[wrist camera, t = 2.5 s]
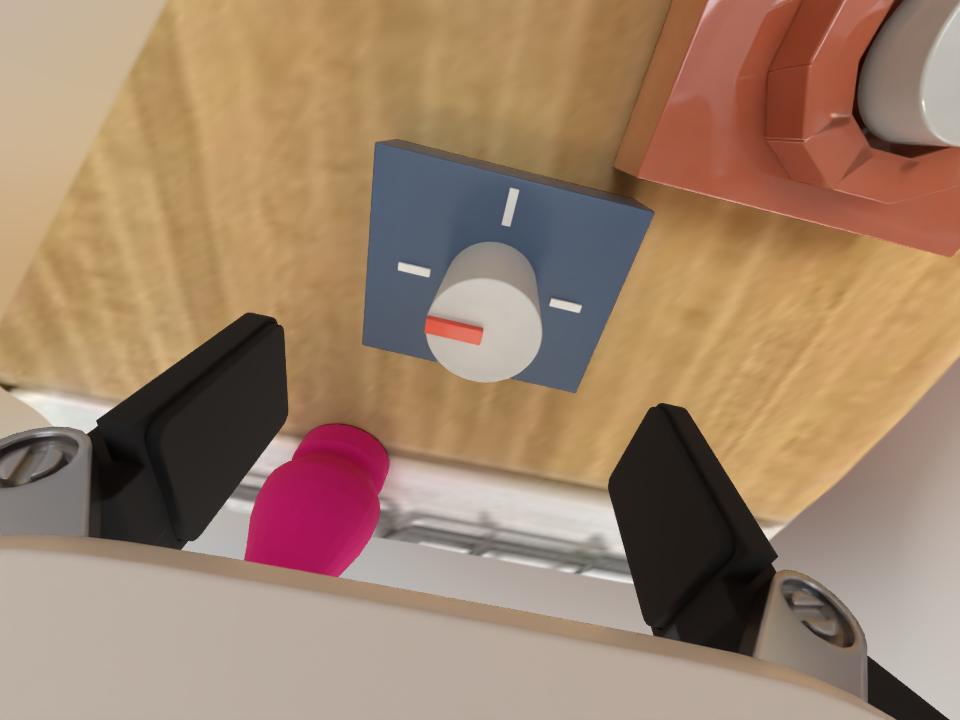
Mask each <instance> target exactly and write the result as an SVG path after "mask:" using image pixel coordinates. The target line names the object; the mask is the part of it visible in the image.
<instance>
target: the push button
mask: <svg viewBox="0 0 960 720" xmlns="http://www.w3.org/2000/svg"><path fill="white" fill-rule="evenodd" d="M857 102H858V109H859V113H860V116H861V118H862V121H863V123H864V124H865V125H866V127H867V128H868V130H869V131H871V132H872V133H873V134H874V135H875V136H877V137H878V138H880V139H882V140H884V141H887V142H890V143H896V144H907V145H925V146H943V147H960V0H904V1H903V2H902V3H901V4H900V5H899V6H898V7H897V8H896V10H895V11H894V12H893V13H892V14H891V16H890V17H889V18H888V20H887V21H886V22H885V23H884V25H883V26H882V28H881V30H880V31H879V33H878V34H877V36H876V37H875V39H874V41H873V43H872V45H871V47H870V49H869V51H868V53H867V55H866V58H865V60H864V63H863V66H862V69H861V72H860V77H859V82H858V89H857Z"/></svg>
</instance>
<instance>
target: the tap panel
mask: <svg viewBox="0 0 960 720" xmlns="http://www.w3.org/2000/svg"><path fill="white" fill-rule="evenodd" d="M653 215H654V211H652V210H651V209H649V208H647V207H646V206H644V205H643V204H641V203H640V202H638V201H637V200H635V199H632V198H628V197H624V196H620V195H616V194H613V193H609V192H605V191H601V190H597V189H593V188H589V187H585V186H581V185H577V184H573V183H569V182H565V181H561V180H557V179H553V178H549V177H545V176H541V175H537V174H533V173H529V172H525V171H521V170H517V169H513V168H509V167H505V166H501V165H497V164H493V163H490V162H486V161H482V160H478V159H474V158H470V157H466V156H462V155H458V154H454V153H450V152H446V151H442V150H438V149H434V148H430V147H426V146H422V145H418V144H414V143H410V142H406V141H402V140H398V139H395V140H388V141H380V142H376V143H375V153H374V168H373V184H372V200H371V215H370V231H369V247H368V262H367V278H366V294H365V309H364V325H363V341H362V344H363V345H365V346H370V347H374V348H379V349H383V350H387V351H392V352H396V353H401V354H405V355H409V356H414V357H418V358H423V359H427V360H431V361H436V362H439V361H438V360H437V359H436V358H435V356H434V355H433V353H432V351H431V349H430V347H429V344H428V342H427V337H426V333H424V330H425V323H426V318H427V314H428V312H429V309H430V307H431V305H432V303H433V300H434V298H435V296H436V294H437V292H438V290H439V287H440V285H441V283H442V281H443V279H444V277H445V275H446V272H447V270H448V268H449V266H450V264H451V263H452V261H453V260H454V258H455V257H456V256H457V255H458V254H459V253H460V252H461V251H463V250H464V249H466V248H468V247H469V246H472V245H474V244H477V243H482V242H499V243H503V244H506V245H509V246H511V247H513V248H515V249H516V250H518V251H519V252H520V253H522V254H523V255H524V256H525V257H526V259H527V260H528V261H529V263H530V264H531V266H532V268H533V270H534V273H535V276H536V282H537V290H538V298H539V306H540V313H541V321H542V341H541V345H540V348H539V350H538V353H537V354H536V356H535V358H534V359H533V360H532V362H531V363H530V364H529V365H528V366H527V367H526V368H525V369H524V370H522V371H521V372H520V373H518V374H516V375H514V376H513V377H510V378H511V379H515V380H520V381H524V382H529V383H533V384H537V385H542V386H546V387H551V388H555V389H559V390H564V391H568V392H573V393H576V391H577V389H578V387H579V385H580V382H581V380H582V378H583V375H584V373H585V371H586V369H587V366H588V364H589V362H590V359H591V357H592V355H593V353H594V350H595V348H596V346H597V343H598V341H599V339H600V337H601V334H602V332H603V330H604V327H605V325H606V323H607V321H608V318H609V316H610V314H611V311H612V309H613V307H614V305H615V302H616V300H617V298H618V295H619V293H620V291H621V289H622V286H623V284H624V282H625V279H626V277H627V275H628V273H629V270H630V268H631V266H632V263H633V261H634V259H635V257H636V254H637V252H638V250H639V247H640V245H641V243H642V241H643V238H644V236H645V234H646V231H647V229H648V227H649V225H650V222H651V220H652V218H653Z"/></svg>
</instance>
